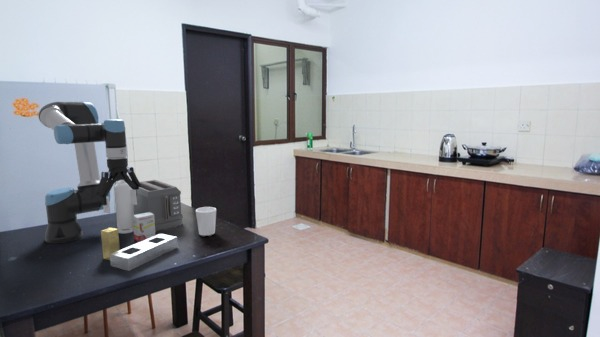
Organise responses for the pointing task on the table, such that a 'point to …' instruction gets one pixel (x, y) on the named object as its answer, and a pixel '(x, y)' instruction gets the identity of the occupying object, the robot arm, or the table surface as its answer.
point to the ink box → (143, 226)
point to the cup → (206, 220)
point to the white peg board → (143, 251)
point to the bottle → (124, 207)
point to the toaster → (159, 203)
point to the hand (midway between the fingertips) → (121, 208)
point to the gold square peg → (109, 242)
